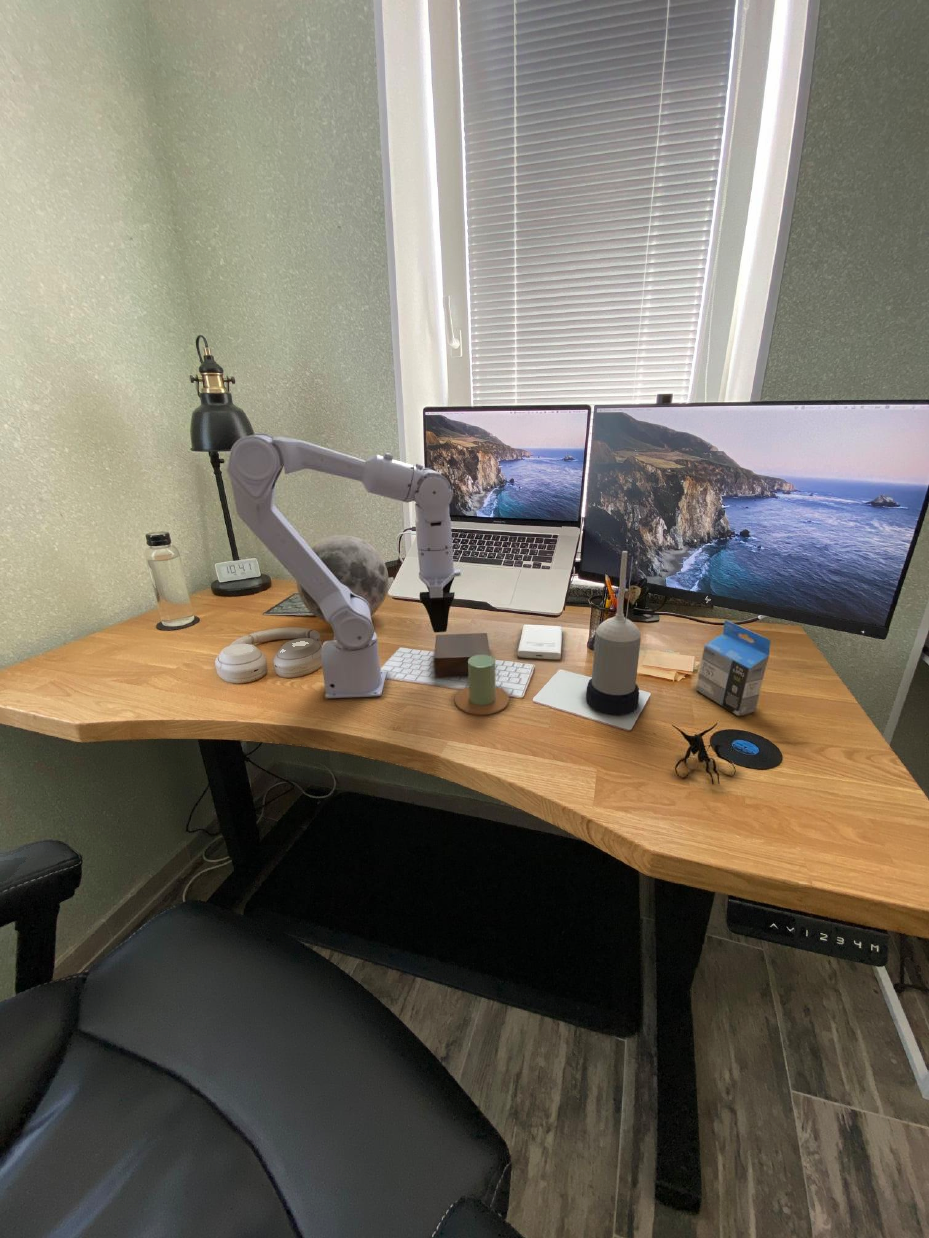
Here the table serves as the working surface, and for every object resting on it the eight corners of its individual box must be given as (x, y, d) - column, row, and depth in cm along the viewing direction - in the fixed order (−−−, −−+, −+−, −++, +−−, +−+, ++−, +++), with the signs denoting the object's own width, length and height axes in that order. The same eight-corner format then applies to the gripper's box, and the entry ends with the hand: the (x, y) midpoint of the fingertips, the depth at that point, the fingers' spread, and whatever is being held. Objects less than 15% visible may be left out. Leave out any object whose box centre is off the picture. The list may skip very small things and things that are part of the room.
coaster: (454, 716, 79) (454, 714, 79) (454, 687, 88) (454, 685, 88) (511, 714, 79) (511, 712, 79) (506, 685, 88) (506, 683, 88)
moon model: (303, 612, 123) (289, 531, 115) (384, 601, 128) (377, 523, 120) (304, 645, 105) (288, 552, 97) (399, 631, 110) (391, 542, 103)
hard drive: (562, 633, 107) (560, 660, 96) (523, 631, 109) (517, 657, 97) (562, 626, 106) (560, 652, 95) (523, 624, 108) (517, 649, 97)
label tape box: (694, 690, 84) (705, 622, 79) (713, 685, 86) (725, 618, 81) (737, 717, 77) (753, 644, 72) (757, 711, 78) (774, 639, 73)
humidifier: (616, 684, 87) (630, 542, 77) (649, 708, 80) (668, 555, 70) (576, 694, 84) (585, 549, 74) (605, 720, 77) (619, 563, 67)
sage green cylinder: (469, 705, 81) (468, 667, 79) (468, 691, 86) (467, 655, 83) (496, 704, 81) (496, 666, 79) (494, 690, 86) (494, 654, 83)
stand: (435, 677, 91) (434, 658, 89) (437, 652, 100) (435, 634, 99) (490, 675, 91) (490, 656, 89) (487, 651, 100) (486, 632, 99)
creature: (743, 791, 64) (715, 742, 70) (756, 764, 61) (725, 715, 67) (681, 794, 64) (659, 745, 70) (692, 767, 60) (667, 718, 67)
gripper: (459, 557, 76) (464, 638, 81) (458, 534, 89) (462, 605, 95) (413, 560, 76) (420, 641, 81) (419, 536, 89) (425, 607, 95)
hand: (440, 622), depth 88 cm, fingers open, 7 cm apart
